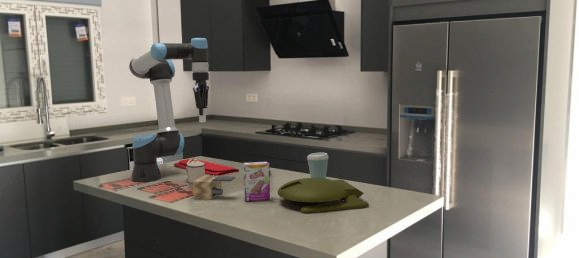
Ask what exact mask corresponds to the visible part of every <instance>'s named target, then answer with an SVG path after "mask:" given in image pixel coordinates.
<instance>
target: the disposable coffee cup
mask: <svg viewBox="0 0 579 258" xmlns="http://www.w3.org/2000/svg"><path fill="white" fill-rule="evenodd" d="M306 159H307V164H308V169H309V176H310V178H325V179H327V172H328V164H329V163H328V162H329V155H328V153H326V152H323V151H322V152H321V151H320V152H314V153H310V154H308V155H307V156H306Z"/></svg>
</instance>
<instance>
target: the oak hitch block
mask: <svg viewBox="0 0 579 258" xmlns="http://www.w3.org/2000/svg"><path fill="white" fill-rule="evenodd" d="M215 177H217V176H213V175H208V174H205V176H203V177H201V178H199V179H197V180H195V181H193V183H192V184H193V186H194V196H193V197H194V198H193V199H194V200H205V201H206V200H208V201H209V200H210V201H211V200H213V199H215V198H216V197H217V196H218V195H212V188H218V189H222V181H212V179H213V178H215Z"/></svg>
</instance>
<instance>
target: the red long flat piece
mask: <svg viewBox="0 0 579 258" xmlns="http://www.w3.org/2000/svg"><path fill="white" fill-rule="evenodd" d="M194 159H195V158H187V159H182V160H179V161H178V162H175V163H174V164H173V167H174V166H176V167H175V168H178V167H179V168H178V169H182V168H183V170H186V167H187V164H188V163H191V162H192V161H194ZM198 161H200V162H203V163H204V164H205V166H204V167H205V175H208V174H209V175H212V176H213V175H214V176H221V175H222V176H226V175H230V174H229V173H231V174H234V172H235V173H239V172H240V169H239V168H236V167H233V166H227V165H223V164H218V163H214V162H210V161H207V160H202V159H198ZM238 171H239V172H238ZM225 174H226V175H225Z"/></svg>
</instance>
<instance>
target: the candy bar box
mask: <svg viewBox="0 0 579 258" xmlns="http://www.w3.org/2000/svg"><path fill="white" fill-rule="evenodd" d="M242 164H243V165H242V168H243V172H242V173H243V176H242V177H243V199H244V202H246V203H247V202H258V201H259V202H260V201H270V200H271V185H270V184H271V181H270V179H271V177H270V173H271V169H270V162H268V161H258V162H257V161H256V162H254V161H253V162H243V163H242Z"/></svg>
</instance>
